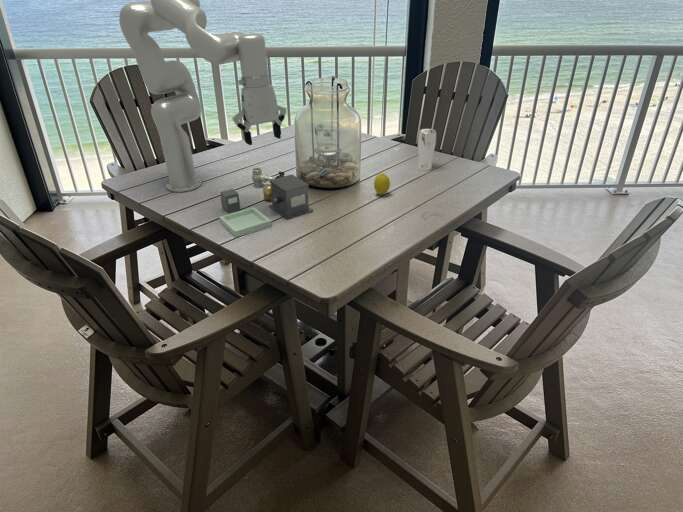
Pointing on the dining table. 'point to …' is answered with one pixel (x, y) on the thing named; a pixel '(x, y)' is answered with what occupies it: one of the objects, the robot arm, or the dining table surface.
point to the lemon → (381, 183)
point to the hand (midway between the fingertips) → (263, 140)
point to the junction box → (289, 196)
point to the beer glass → (426, 148)
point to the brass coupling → (267, 193)
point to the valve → (262, 177)
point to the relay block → (230, 200)
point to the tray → (245, 221)
